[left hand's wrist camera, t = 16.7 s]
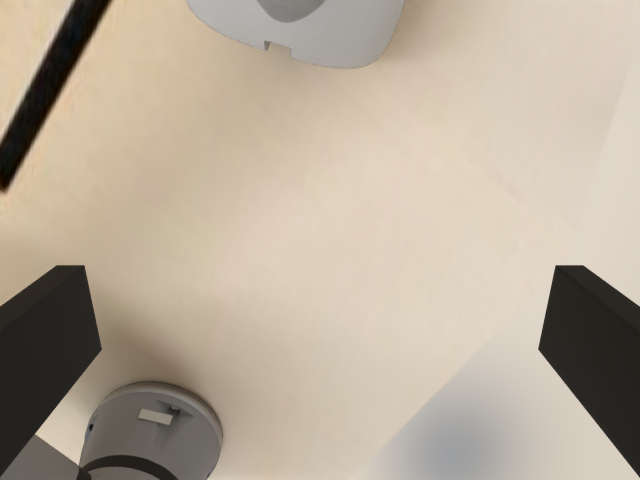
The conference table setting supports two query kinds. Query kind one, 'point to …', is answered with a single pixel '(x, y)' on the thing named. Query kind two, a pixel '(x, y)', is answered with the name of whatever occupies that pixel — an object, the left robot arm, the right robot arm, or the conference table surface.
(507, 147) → the conference table surface
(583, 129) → the conference table surface
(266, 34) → the projector
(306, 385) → the conference table surface
